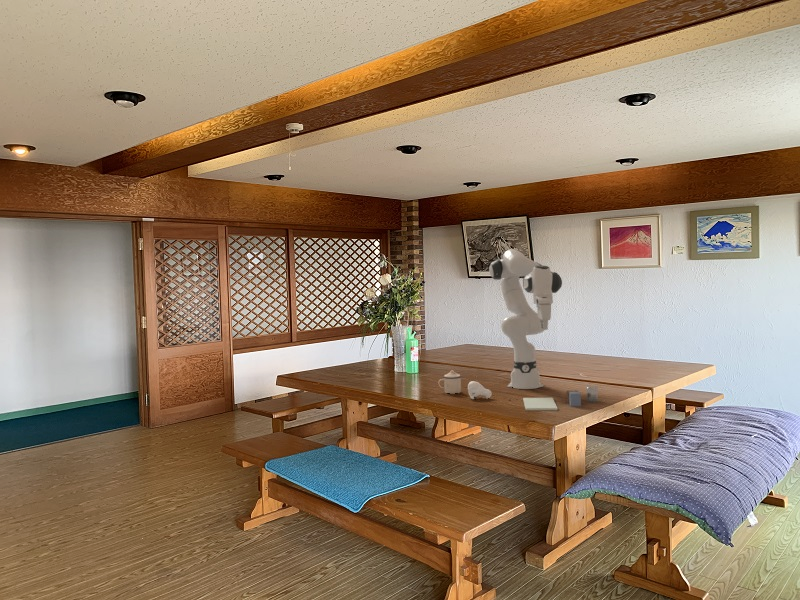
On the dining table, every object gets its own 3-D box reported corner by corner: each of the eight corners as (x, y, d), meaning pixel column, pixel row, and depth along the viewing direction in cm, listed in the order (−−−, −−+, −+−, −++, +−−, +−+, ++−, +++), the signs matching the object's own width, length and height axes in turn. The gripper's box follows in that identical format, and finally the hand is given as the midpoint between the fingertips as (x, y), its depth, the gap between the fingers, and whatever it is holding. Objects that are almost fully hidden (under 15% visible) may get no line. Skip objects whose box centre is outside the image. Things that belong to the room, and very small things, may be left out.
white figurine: (469, 379, 302) (493, 382, 299) (468, 396, 303) (492, 399, 300) (467, 382, 296) (491, 384, 293) (466, 399, 297) (490, 401, 294)
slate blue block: (569, 404, 278) (569, 391, 278) (579, 404, 278) (579, 391, 277) (570, 406, 274) (570, 393, 274) (580, 406, 273) (580, 393, 273)
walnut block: (566, 401, 285) (566, 390, 285) (577, 400, 285) (577, 390, 284) (568, 403, 281) (568, 392, 280) (579, 403, 280) (579, 392, 280)
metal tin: (586, 400, 285) (585, 385, 285) (596, 400, 284) (596, 385, 284) (587, 402, 280) (587, 387, 280) (598, 402, 279) (598, 387, 279)
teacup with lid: (461, 390, 320) (460, 369, 319) (461, 394, 311) (461, 371, 310) (438, 391, 320) (437, 369, 320) (438, 394, 311) (438, 372, 311)
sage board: (523, 399, 291) (523, 397, 291) (552, 399, 289) (552, 397, 289) (525, 410, 269) (525, 408, 269) (557, 410, 267) (557, 408, 267)
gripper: (533, 299, 291) (535, 328, 291) (538, 300, 271) (540, 330, 271) (547, 299, 290) (548, 327, 290) (552, 299, 270) (554, 330, 270)
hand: (544, 329), depth 281 cm, fingers open, 8 cm apart
